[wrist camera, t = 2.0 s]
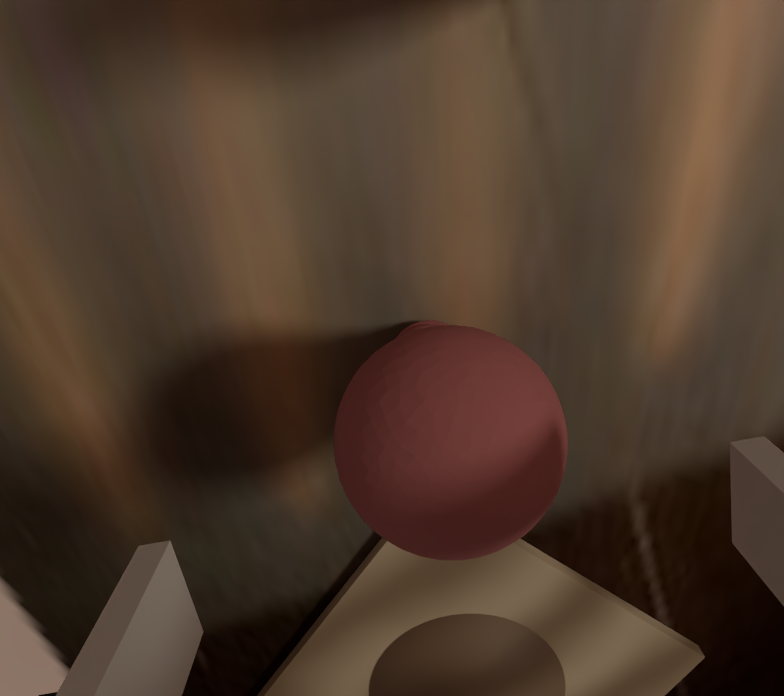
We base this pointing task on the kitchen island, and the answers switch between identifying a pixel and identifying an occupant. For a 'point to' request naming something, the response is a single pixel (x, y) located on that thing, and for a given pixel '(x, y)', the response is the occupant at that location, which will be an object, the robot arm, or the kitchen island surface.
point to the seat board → (481, 633)
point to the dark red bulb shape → (450, 442)
